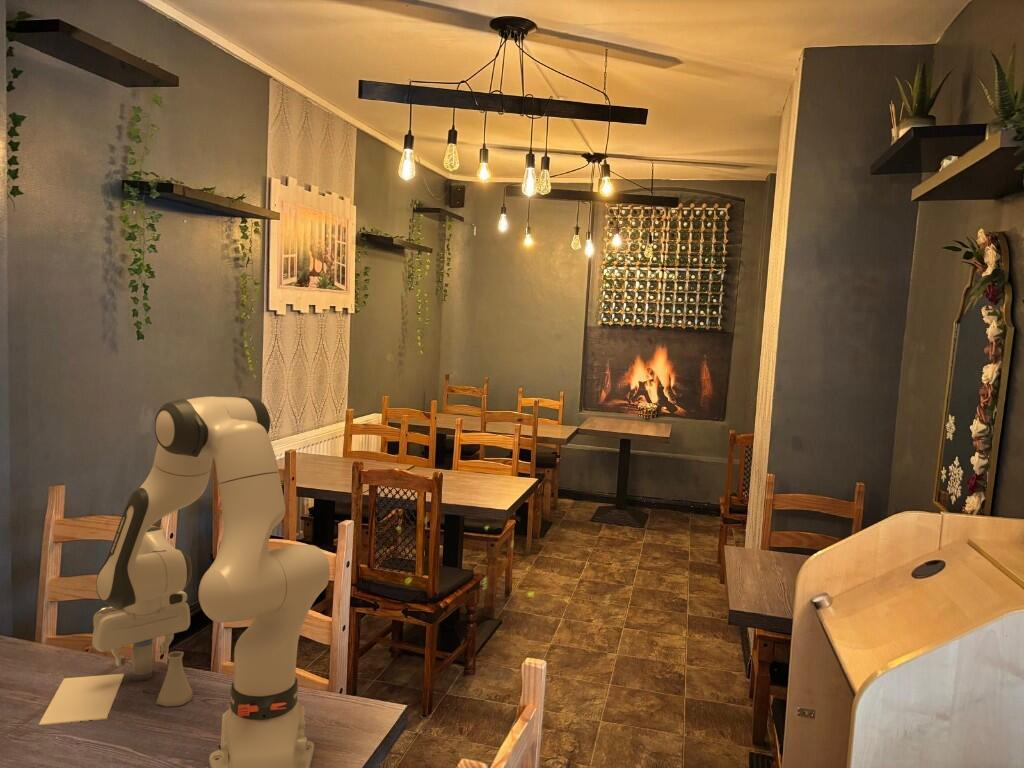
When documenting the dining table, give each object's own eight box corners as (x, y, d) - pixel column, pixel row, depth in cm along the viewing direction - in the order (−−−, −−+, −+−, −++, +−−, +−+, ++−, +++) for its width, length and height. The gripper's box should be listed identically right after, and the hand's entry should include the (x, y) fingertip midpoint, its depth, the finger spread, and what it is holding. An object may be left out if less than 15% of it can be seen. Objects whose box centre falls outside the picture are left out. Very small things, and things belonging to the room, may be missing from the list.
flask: (184, 708, 161) (185, 662, 160) (149, 707, 161) (150, 660, 160) (198, 692, 168) (199, 647, 167) (165, 690, 168) (166, 646, 168)
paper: (106, 719, 155) (106, 717, 155) (38, 725, 152) (38, 724, 152) (124, 674, 174) (124, 673, 174) (64, 679, 171) (64, 678, 171)
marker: (150, 680, 172) (151, 641, 172) (130, 682, 171) (131, 642, 170) (153, 672, 176) (153, 634, 175) (133, 674, 175) (134, 635, 174)
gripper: (98, 614, 163) (98, 677, 164) (194, 592, 178) (192, 651, 179) (87, 605, 167) (87, 667, 168) (181, 585, 182) (180, 642, 183)
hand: (142, 658), depth 173 cm, fingers open, 8 cm apart
